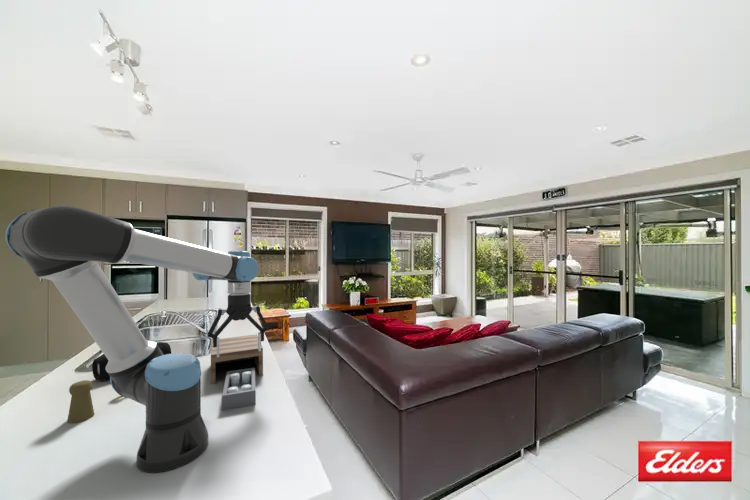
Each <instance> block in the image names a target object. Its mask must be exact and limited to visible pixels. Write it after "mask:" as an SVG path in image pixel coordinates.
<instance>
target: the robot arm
mask: <svg viewBox="0 0 750 500" xmlns="http://www.w3.org/2000/svg"><path fill="white" fill-rule="evenodd" d="M4 236H5V237H4V238H5V242H6V244H7V247H8V248H9V249H10V251H11V252H13V253H15V255H16V256H18V257H20V258H21V259H23V260H25V262H26V263H27V264H28V266H29V267H30V268H31V270H32V271H33V272H34V274H35V276H36V277H37V278H39V279H44V280H49V281H51V282H52V283H53V284H54V286H55V288H56V289H57V290H58V291H59V293H60V294H61V296H62V297H63V298H64V300H65V301H66V303H67V304H68V306H69V307H70V308H71V310H72V311H73V313H74V314H75V315H76V317H77V319H79V321H80V322H81V324H82V325H83V327H84V328H85V329H86V330H87V332H88V333H89V335H90V337H92V340H93V341H94V342H95V344H96V345H97V346H98V347H99V349H100V351H101V352H102V353H103V355H105V356H106V357H107V359H108V360H109V361H108V363H107V365H106V368H105V369H106V371H107V373H108V374H109V376H110V379H109V381H110V385H111V387H112V389H113V390H114V392H116V394H118V395H119V396H121V397H123V398H125V399H130V400H132V401H134V402H137V403H139V404H141V405H143V406H145V431H144V433H143V436H142V438H141V441H140V443H139V448H138V450H137V452H136V453H137V454H136V467H137V468H138V470H140V471H141V472H144V473H162V472H167V471H171V470H174V469H177V468H180V467H182V466H184V465H187V464H189V463H191V462H192V461H194V460H195V459H197V458H199V456H201V455H202V454H203V453H205V451H206V449H207V447H208V445H209V431H208V428H207V427H206V424H205V422H204V419H203V417H202V415H201V413H202V412H201V411H202V410H201V408H202V407H201V405H202V403H201V402H202V401H201V400H202V399H201V398H202V397H201V396H202V395H201V391H202V390H201V389H202V388H201V386H202V383H201V381H202V379H201V376H202V368H201V362H200V360H199V358H198V357H196V356H195V355H193V354H190V353H185V352H184V353H179V352H178V353H176V352H175V353H172V352H171V354H166V355H163V353H162V351H161V350H160V348H159V347H158V345H157V341H155V340H149V339H148V340H147V339H146V337H145V336H144V335H143V333H142V331H141V329H140V328H139V326H138V324H136V322H135V319H134V318H133V317H132V315H131V313H130V312H129V310H128V309H127V307H126V306H125V304H124V302H123V301H122V299H121V298H120V297H119V294H118V293H117V291H116V290H115V288H114V286H113V284H111V282H110V281H109V279H108V277H107V275H106V274H105V272H104V270H103V268H102V267H101V266H100V264H99V262H101V263H110V264H115V265H116V264H119V263H120V262H122V261H123V262H130V263H134V264H135V263H136V264H141V265H146V266H152V267H157V268H164V269H168V270H174V271H175V270H176V271H180V272H186V273H187V272H188V273H192V276H193V277H194V279H195V280H197V281H209V280H210V281H211V280H213V281H217V280H218V281H227V293H228V296H227V308H221V307H219V308H218V309H217V315H216V317H215V318H214V319H213V320H214V321H213V322H212V324H211V326H210V328H209V330H208V332H207V334H206V337H207V338H212V340H213V347H217V357H219V339H220V336H219V335H220V334H221V333H222V332H223V331H224V329H226V328H227V326H228V325H229V324H230V323H231V322H232V321H234V322H235V321H245V320H246V319H247V320H248V321H249V322H250V323H251V324H252V325H253V326H254V327H255V328H256V329H257V330H258V332H257V336H258V351H261V345H262V342H264V341H265V332H266V331H268V332H269V331H270V327H269V324H268V323H267V322H266V319H265V318H264V316H263V315H262V313H261V307H260V306H259V305H256V306H251V301H252V300H251V297H252V296H251V295H252V294H251V290H252V289H251V286H252V285H251V281H253V280H255V278H256V277H257V276H258V273H259V263H258V262H257V260H256V259H255V258H254V257H251V253H250V251H247V250H233V251H232V250H230V251H228V252H224V251H220V250H216V249H213V248H210V247H205V246H201V245H197V244H194V243H189V242H186V241H182V240H179V239H174V238H170V237H167V236H164V235H159V234H155V233H152V232H147V231H144V230H140V229H136V228H135V227H133V225H132V224H131V222H127V221H124V220H120V219H117V218H115V217H111V216H109V215H108V216H107V215H104V214H101V213H98V212H95V211H91V210H89V209H85V208H82V207H77V206H71V205H53V206H48V207H44V208H38V209H31V210H29V211H26V212H23V213H21V214H20V215H17V216H16V217H15V218H14V219H13V220H12V221H10V222H9V224H8V226H7V228H6V230H5V235H4ZM252 311H253V312H254V313H256V314H257V316H258V318H259V320H260V321H261V323H262V325H263V326H264V327H262V326H261V325H260V324H259V323H258V322H257V321H256V320H255V319H254V318H253V317H252V316H251V315H250V314H251V313H252ZM225 313H226V314H227V316H228V317H227V318H226V319H225V320H224V322H223V323H222V324H221V325H220V326H219V327H218V328H217V330H216V331H215V329H216V327H217V326H218V324H219V321H220V320H221V318H222V316H224V315H225ZM214 331H215V332H214Z"/></svg>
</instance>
